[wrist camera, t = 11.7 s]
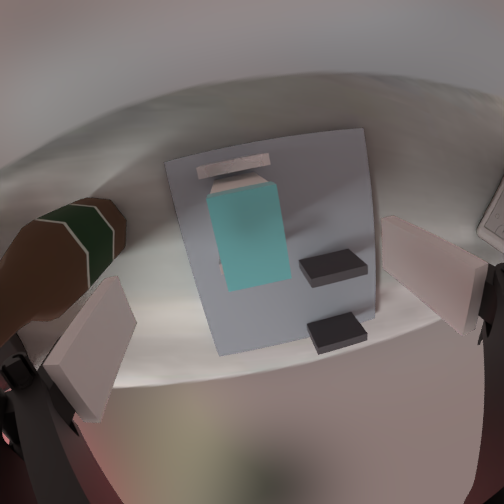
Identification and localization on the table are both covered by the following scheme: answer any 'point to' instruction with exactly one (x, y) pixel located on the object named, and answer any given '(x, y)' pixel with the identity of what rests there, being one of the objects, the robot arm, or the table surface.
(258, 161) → the port
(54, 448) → the robot arm
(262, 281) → the white and teal box
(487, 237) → the digital clock
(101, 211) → the beer bottle
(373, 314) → the panel
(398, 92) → the table surface
